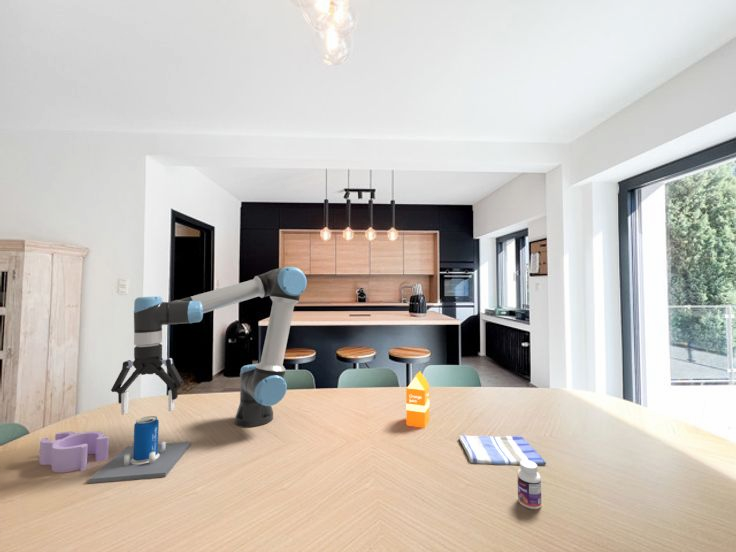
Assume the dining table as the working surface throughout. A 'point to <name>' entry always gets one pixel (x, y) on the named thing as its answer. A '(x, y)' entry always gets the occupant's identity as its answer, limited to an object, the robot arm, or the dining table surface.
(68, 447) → the clip
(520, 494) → the pill bottle
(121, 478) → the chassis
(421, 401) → the orange juice
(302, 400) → the dining table surface
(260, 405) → the robot arm
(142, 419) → the beverage can
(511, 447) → the dish towel
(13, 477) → the dining table surface
